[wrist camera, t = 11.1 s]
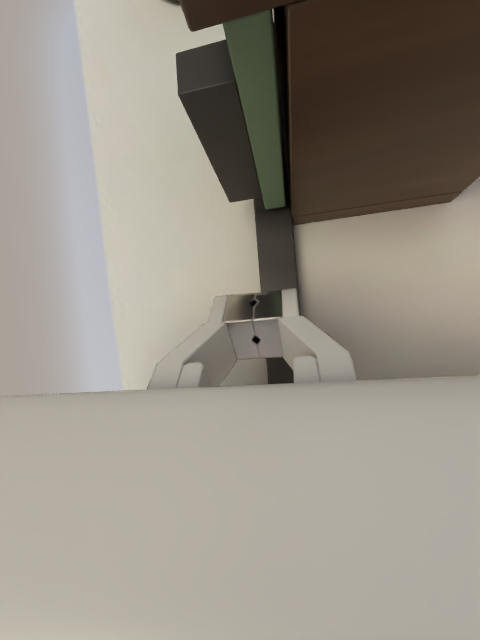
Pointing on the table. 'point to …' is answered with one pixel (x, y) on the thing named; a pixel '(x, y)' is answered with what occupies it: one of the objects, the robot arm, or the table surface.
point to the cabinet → (362, 113)
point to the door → (237, 108)
